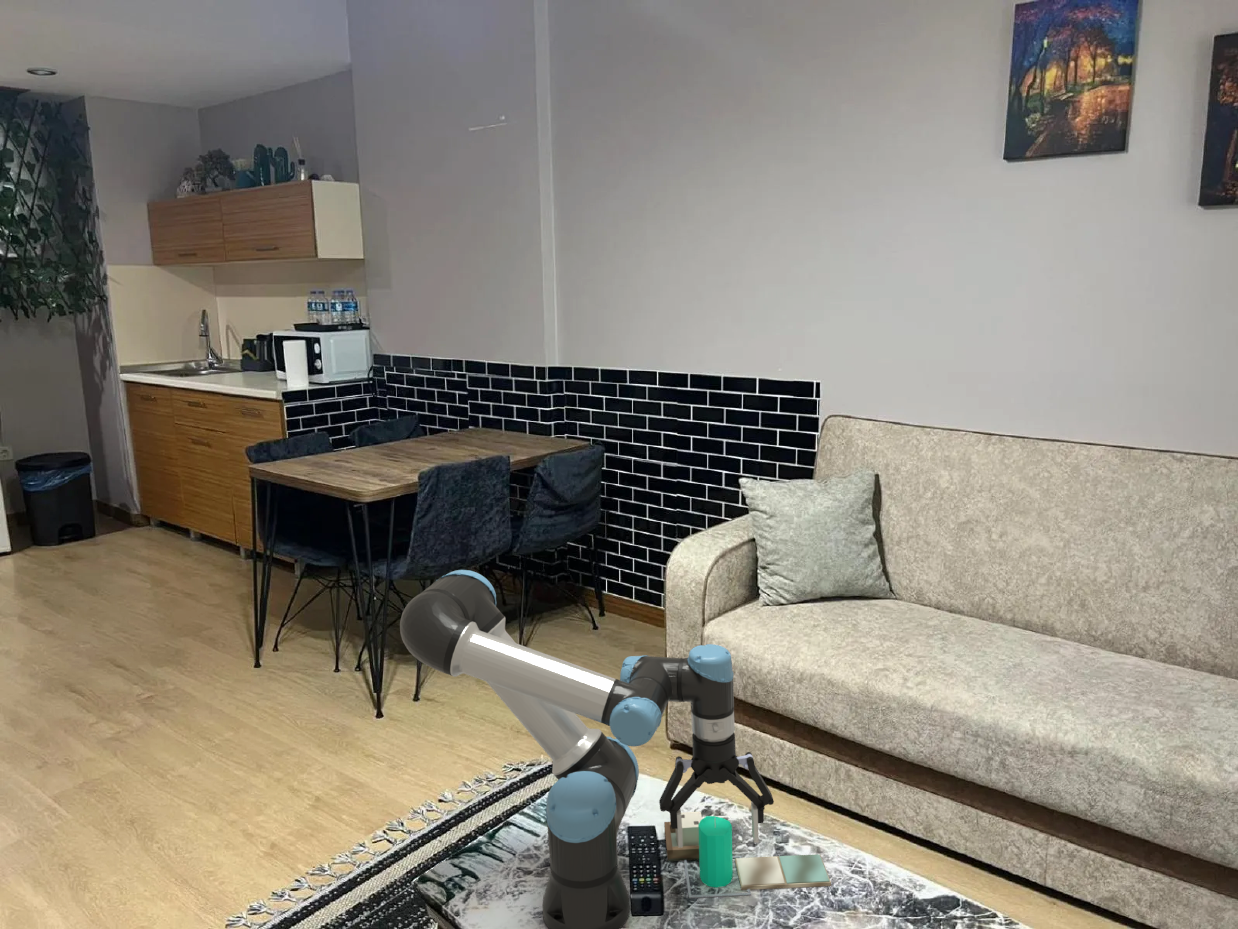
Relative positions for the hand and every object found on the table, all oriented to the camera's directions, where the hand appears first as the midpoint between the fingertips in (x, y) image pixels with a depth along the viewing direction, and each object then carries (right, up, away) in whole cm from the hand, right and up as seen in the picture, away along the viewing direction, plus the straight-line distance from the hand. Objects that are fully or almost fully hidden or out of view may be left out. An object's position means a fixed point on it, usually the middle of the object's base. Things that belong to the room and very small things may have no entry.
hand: (717, 841), depth 166 cm
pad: (0, -7, +2) cm, 7 cm away
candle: (0, -7, +2) cm, 8 cm away
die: (-4, -5, +11) cm, 13 cm away
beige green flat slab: (+12, -7, +2) cm, 14 cm away
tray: (-4, -5, +11) cm, 13 cm away
